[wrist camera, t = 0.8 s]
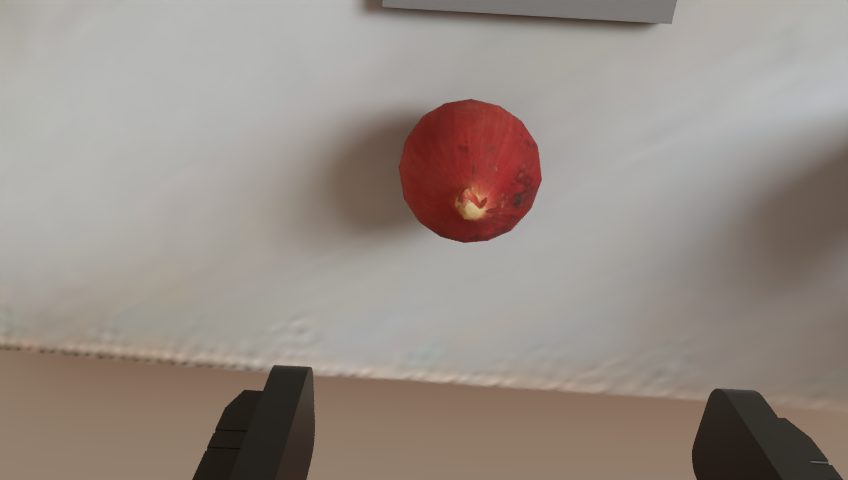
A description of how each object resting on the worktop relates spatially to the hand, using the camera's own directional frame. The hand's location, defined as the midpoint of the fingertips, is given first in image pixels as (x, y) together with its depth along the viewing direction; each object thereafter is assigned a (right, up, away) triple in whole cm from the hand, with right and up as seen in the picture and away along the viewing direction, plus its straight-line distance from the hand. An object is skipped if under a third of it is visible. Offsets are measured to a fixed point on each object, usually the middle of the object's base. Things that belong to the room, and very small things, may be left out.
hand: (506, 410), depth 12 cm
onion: (0, +8, +16) cm, 18 cm away
